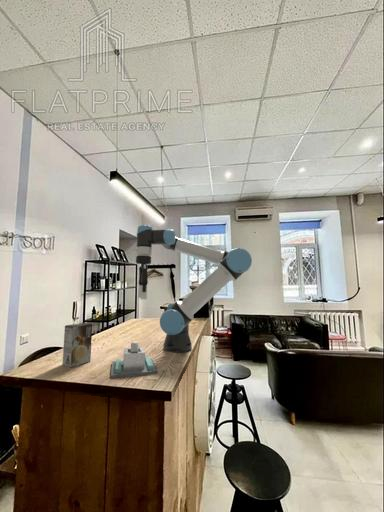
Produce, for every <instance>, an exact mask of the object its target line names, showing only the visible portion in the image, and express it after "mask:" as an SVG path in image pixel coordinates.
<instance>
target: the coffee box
mask: <svg viewBox="0 0 384 512" xmlns="http://www.w3.org/2000/svg"><path fill="white" fill-rule="evenodd" d="M92 334H93V323H88V322H79V323H74V324H67V325H64V335H63V336H64V337H63V351H62V352H63V354H62V362H61V363H62V364H61V365H62V366H66V367H68V368H73V367H76V366H79V365H82V364H85V363H89V362H91V360H92V359H91V358H92V356H91V355H92V336H93V335H92Z"/></svg>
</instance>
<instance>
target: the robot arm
mask: <svg viewBox="0 0 384 512" xmlns="http://www.w3.org/2000/svg"><path fill="white" fill-rule="evenodd" d="M152 245H155V246H156V245H161V246H162V247H163V248H165V249H166V250H171V251H175V252H177V253H181V254H185V255H187V256H189V257H193V258H196V259H198V260H202V261H205V262H208V263H210V264H213V265H217V266H218V267H217V268H216V269H214V271H213V272H212V273H211V274H210V275H208V276H207V277H206V278H205V279H204V280H203V281H202V282H200V284H198V285H197V287H195V288H194V289H193V290H192V291H191V292H190V293H188V295H186V296H185V297H184V298H183V299H182V300H176V301H175V302H174V303H169V304H168V305H167V308H166V310H164V311H163V312H162V313H161V316H160V318H159V326H160V329H161V330H162V331H163V333H165V334H166V335H165V339H164V341H163V347H162V348H163V350H164V352H165V351H166V352H169V353H185V351H186V352H189V351H192V348H193V346H192V341H191V337H190V332H189V327H190V326H189V325H190V324H189V323H191V322H193V321H194V316H195V315H194V314H196V313H197V312H198V311H199V310H201V308H202V307H204V305H206V304H207V303H208V302H209V301H210V300H212V298H213V297H215V296H216V294H218V293H219V292H220V291H221V290H222V289H223V288H224V287H225V286H227V284H228V283H229V282H232V281H234V282H236V280H238V279H239V278H240V277H241V276H242V275H243V274H244V273H245V272H248V271H249V269H250V267H251V266H252V262H253V261H252V255H251V253H249V251H248V250H247V249H244V248H241V247H236V248H233V249H231V250H230V251H226V250H223V251H221V250H217V249H215V248H214V249H213V248H211V247H209V246H208V247H207V246H205V245H202V244H199V243H196V242H192V241H189V240H186V239H183V238H179V237H177V236H176V231H175V230H174V229H153V227H152V226H151V225H146V224H141V225H138V227H137V233H136V248H135V252H136V253H135V254H136V257H135V263H136V265H137V264H139V265H140V266H139V267H138V270H139V271H138V273H139V275H138V296H137V298H139V299H140V300H147V298H148V296H147V295H148V293H147V292H148V285H149V284H148V282H149V281H148V270H149V269H148V265H150V264H152V254H153V253H152V247H153V246H152Z"/></svg>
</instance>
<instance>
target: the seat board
mask: <svg viewBox="0 0 384 512" xmlns="http://www.w3.org/2000/svg"><path fill="white" fill-rule="evenodd" d="M139 345H140V344H139V341H131V342H130V348H131V352H138V348H139ZM155 363H156V362H155V361H154V359H153V357H150V356H145V368H144V369H134V370H123V360H122V358H116V359H115V360H113V361H111V371H110V372H111V373H110V379H119V378H127V377H139V376H147V375H157V374H159V370H158V368H157V364H155Z"/></svg>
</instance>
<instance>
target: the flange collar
mask: <svg viewBox="0 0 384 512" xmlns="http://www.w3.org/2000/svg"><path fill="white" fill-rule="evenodd" d="M145 357H146V351H145V348H144V347H143V346H140V347H139V346H138V352H131V347H126V348H123V355H122V361H123V370H134V369H144V368H145Z"/></svg>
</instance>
